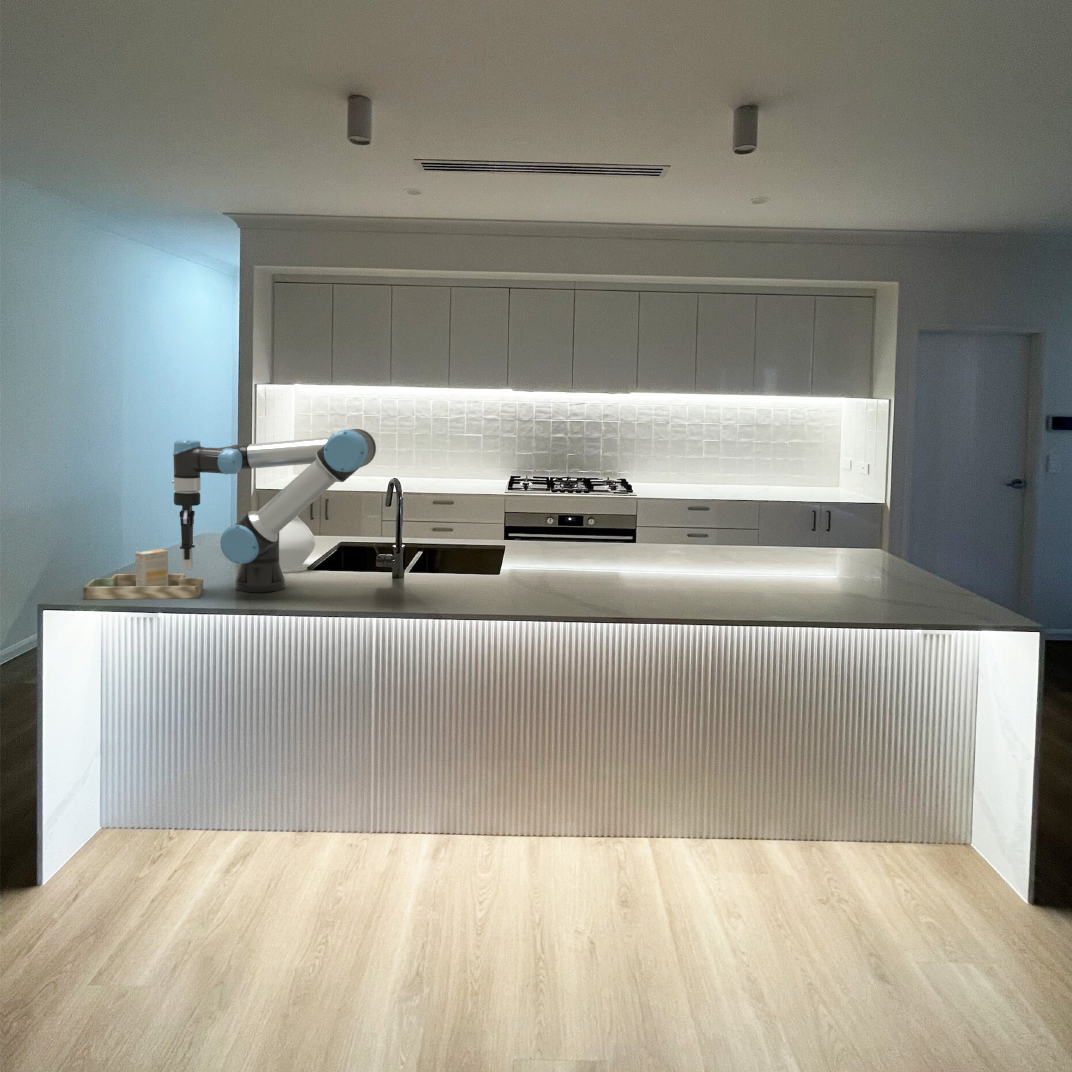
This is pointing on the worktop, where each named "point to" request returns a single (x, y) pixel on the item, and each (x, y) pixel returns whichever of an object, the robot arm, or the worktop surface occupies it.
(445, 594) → the worktop surface
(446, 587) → the worktop surface
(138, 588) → the tray
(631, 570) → the worktop surface
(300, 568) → the decorative vase
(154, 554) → the supplement box
